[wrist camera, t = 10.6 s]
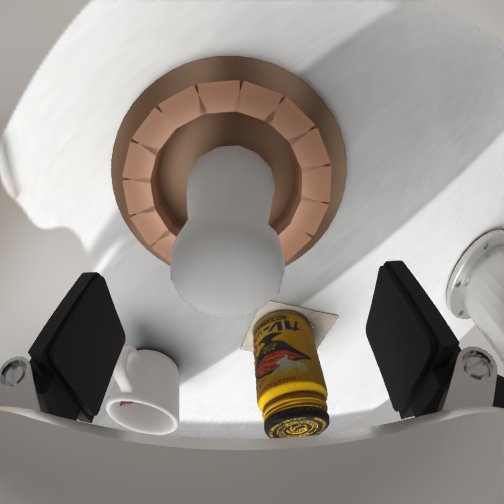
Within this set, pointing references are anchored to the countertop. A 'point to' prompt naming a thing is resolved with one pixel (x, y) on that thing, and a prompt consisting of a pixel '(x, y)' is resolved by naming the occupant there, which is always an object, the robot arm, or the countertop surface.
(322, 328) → the condiment
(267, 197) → the salt shaker
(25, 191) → the countertop surface
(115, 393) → the cup
